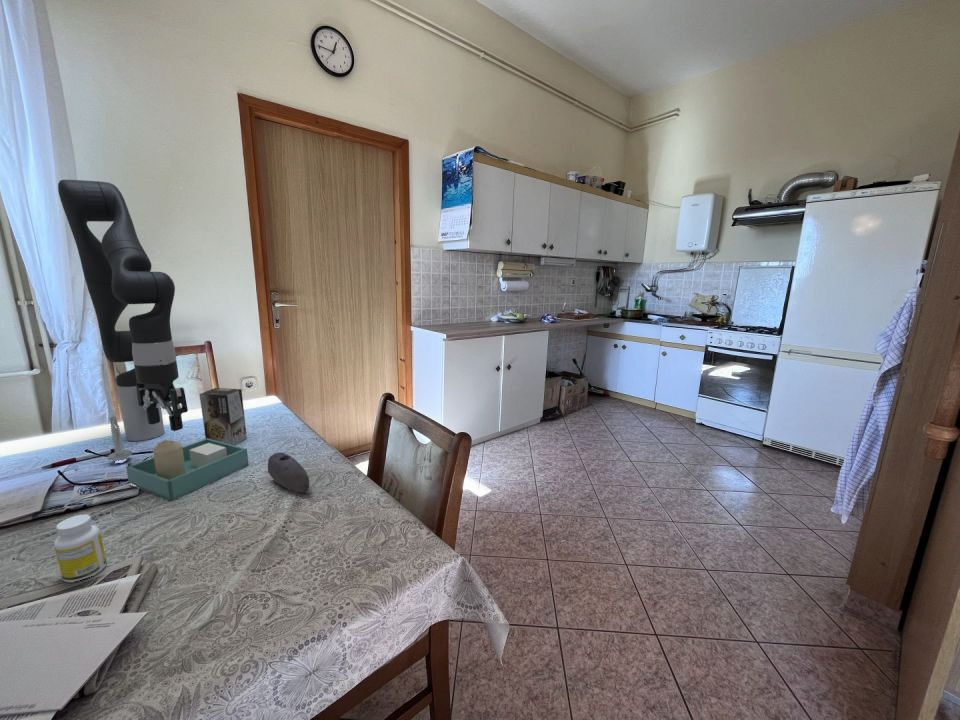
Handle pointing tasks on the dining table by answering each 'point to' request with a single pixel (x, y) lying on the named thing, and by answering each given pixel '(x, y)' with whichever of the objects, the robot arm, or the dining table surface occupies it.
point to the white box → (206, 454)
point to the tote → (187, 472)
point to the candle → (169, 459)
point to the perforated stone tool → (288, 472)
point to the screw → (117, 442)
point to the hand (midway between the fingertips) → (165, 426)
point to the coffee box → (223, 415)
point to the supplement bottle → (79, 548)
